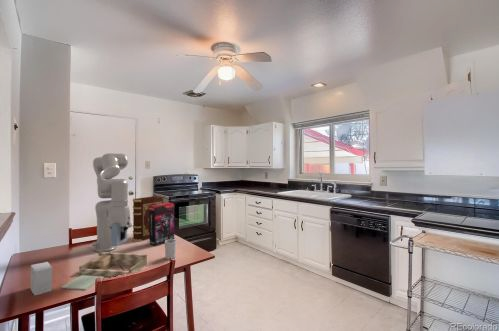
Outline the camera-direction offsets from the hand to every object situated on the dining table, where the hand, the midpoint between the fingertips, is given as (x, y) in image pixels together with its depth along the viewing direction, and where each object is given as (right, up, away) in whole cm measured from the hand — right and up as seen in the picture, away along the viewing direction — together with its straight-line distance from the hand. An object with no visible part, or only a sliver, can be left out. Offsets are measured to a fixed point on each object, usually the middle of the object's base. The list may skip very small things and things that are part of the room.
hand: (119, 238), depth 133 cm
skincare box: (-25, -18, -19) cm, 36 cm away
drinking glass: (+20, -17, +20) cm, 33 cm away
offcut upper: (-12, -15, +4) cm, 19 cm away
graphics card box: (+6, -17, +48) cm, 51 cm away
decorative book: (-9, -16, +60) cm, 63 cm away
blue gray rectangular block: (0, -2, 0) cm, 2 cm away
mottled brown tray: (-4, -17, +2) cm, 18 cm away
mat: (-11, -17, -12) cm, 24 cm away
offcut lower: (-12, -18, +3) cm, 21 cm away
